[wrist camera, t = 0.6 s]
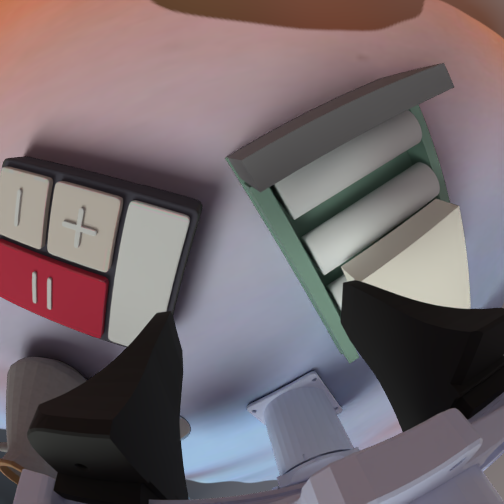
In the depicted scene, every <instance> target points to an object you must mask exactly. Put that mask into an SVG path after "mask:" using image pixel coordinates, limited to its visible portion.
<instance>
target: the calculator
mask: <svg viewBox="0 0 504 504" xmlns="http://www.w3.org/2000/svg"><path fill="white" fill-rule="evenodd" d="M201 211H202V204H201V202H200V201H198V200H195V199H192V198H189V197H185V196H182V195H178V194H175V193H171V192H167V191H164V190H160V189H156V188H153V187H149V186H145V185H139V184H135V183H131V182H128V181H124V180H120V179H117V178H113V177H109V176H105V175H102V174H98V173H94V172H90V171H86V170H82V169H78V168H74V167H70V166H66V165H62V164H58V163H53V162H49V161H45V160H40V159H36V158H31V157H15V158H7V159H5V160H4V162H3V165H2V170H1V175H0V297H2V298H4V299H6V300H8V301H10V302H12V303H14V304H16V305H18V306H20V307H22V308H24V309H26V310H29V311H31V312H33V313H35V314H37V315H40V316H42V317H44V318H47V319H49V320H51V321H54V322H56V323H59V324H61V325H64V326H66V327H69V328H71V329H74V330H76V331H79V332H82V333H85V334H87V335H90V336H93V337H96V338H99V339H102V340H105V341H108V342H111V343H114V344H117V345H121V346H124V347H128V346H129V345H130V343H131V342H132V341H133V340H134V339H135V338H136V337H137V336H138V335H139V333H140V332H141V331H142V330H143V329H144V327H145V326H146V325H147V324H148V323H149V321H150V320H151V319H152V318H153V316H154V315H155V314H156V313H158V312H166V311H171V312H172V315H173V313H174V309H175V305H176V301H177V297H178V293H179V289H180V285H181V281H182V278H183V274H184V270H185V267H186V263H187V259H188V256H189V252H190V249H191V245H192V242H193V238H194V235H195V232H196V228H197V225H198V222H199V218H200V214H201Z"/></svg>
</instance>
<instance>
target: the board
mask: <svg viewBox="0 0 504 504" xmlns="http://www.w3.org/2000/svg"><path fill="white" fill-rule="evenodd" d="M341 268H342V270H343V273H344V275H345V277H346V279H347V281H353V280H357V281H361V282H364V283H367V284H370V285H373V286H376V287H378V288H381V289H384V290H387V291H389V292H392V293H395V294H398V295H401V296H404V297H407V298H410V299H413V300H417V301H420V302H424V303H429V304H433V305H438V306H444V307H452V308H462V309H470V286H469V272H468V262H467V253H466V245H465V238H464V231H463V225H462V219H461V214H460V209H459V206H457V205H454V204H451V203H448V202H445V201H442V200H439V199H435V200H434V201H432V202H431V203H430V204H428V205H427V206H426V207H424V208H423V209H422V210H420V211H419V212H418V213H416V214H415V215H414V216H412V217H411V218H410V219H408V220H407V221H406V222H404V223H403V224H402V225H400V226H399V227H397V228H396V229H395V230H393V231H392V232H390V233H389V234H388V235H386V236H385V237H383V238H382V239H381V240H379V241H378V242H376V243H375V244H374V245H372V246H371V247H369V248H368V249H366V250H365V251H363V252H362V253H361V254H359V255H358V256H356V257H355V258H353V259H352V260H350V261H349V262H347V263H346V264H344V265H343V266H341Z"/></svg>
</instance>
